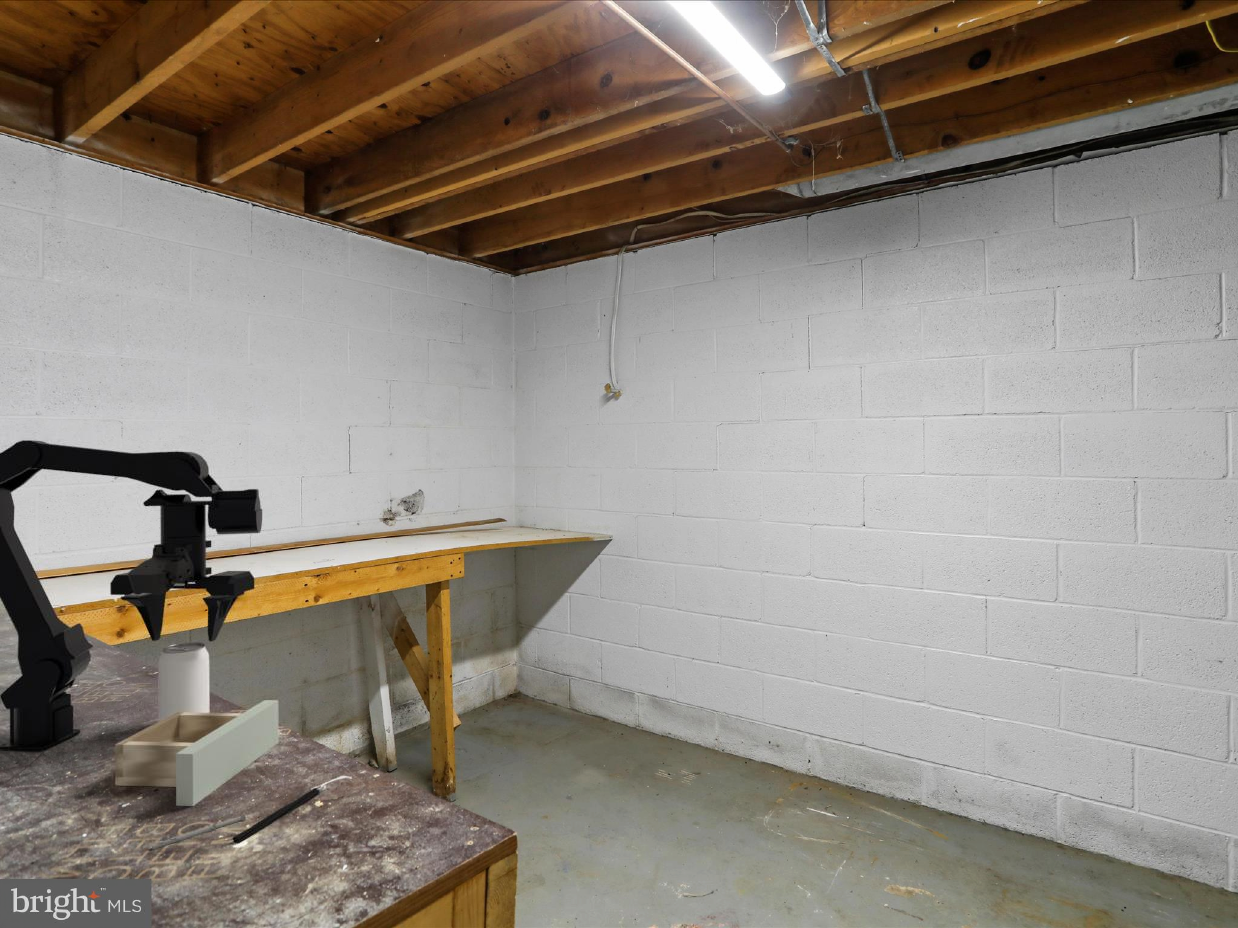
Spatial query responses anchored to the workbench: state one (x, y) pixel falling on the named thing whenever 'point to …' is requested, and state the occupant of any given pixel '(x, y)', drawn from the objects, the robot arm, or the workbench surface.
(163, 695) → the can
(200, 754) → the panel
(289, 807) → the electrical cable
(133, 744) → the wooden drawer box
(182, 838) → the grey thin rod
